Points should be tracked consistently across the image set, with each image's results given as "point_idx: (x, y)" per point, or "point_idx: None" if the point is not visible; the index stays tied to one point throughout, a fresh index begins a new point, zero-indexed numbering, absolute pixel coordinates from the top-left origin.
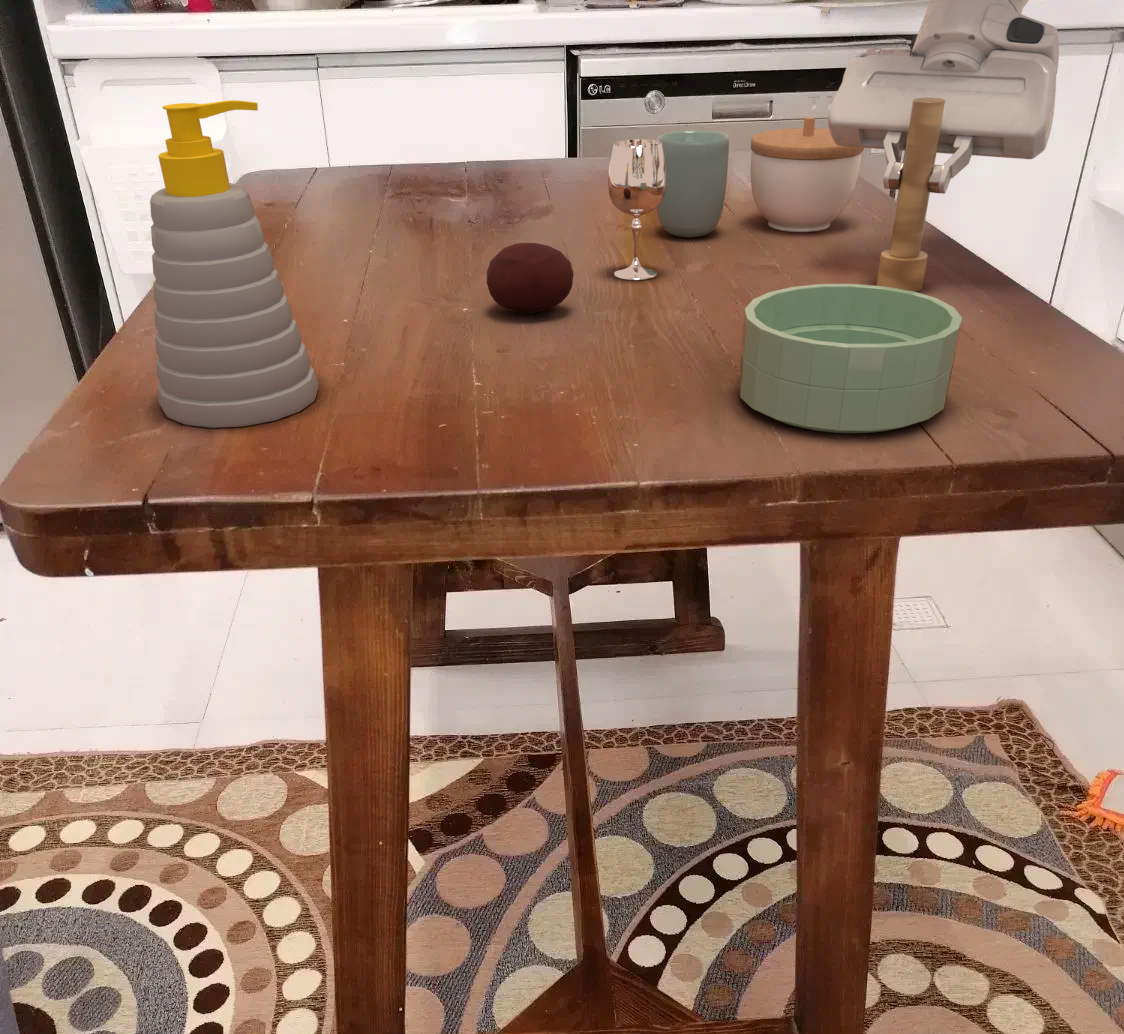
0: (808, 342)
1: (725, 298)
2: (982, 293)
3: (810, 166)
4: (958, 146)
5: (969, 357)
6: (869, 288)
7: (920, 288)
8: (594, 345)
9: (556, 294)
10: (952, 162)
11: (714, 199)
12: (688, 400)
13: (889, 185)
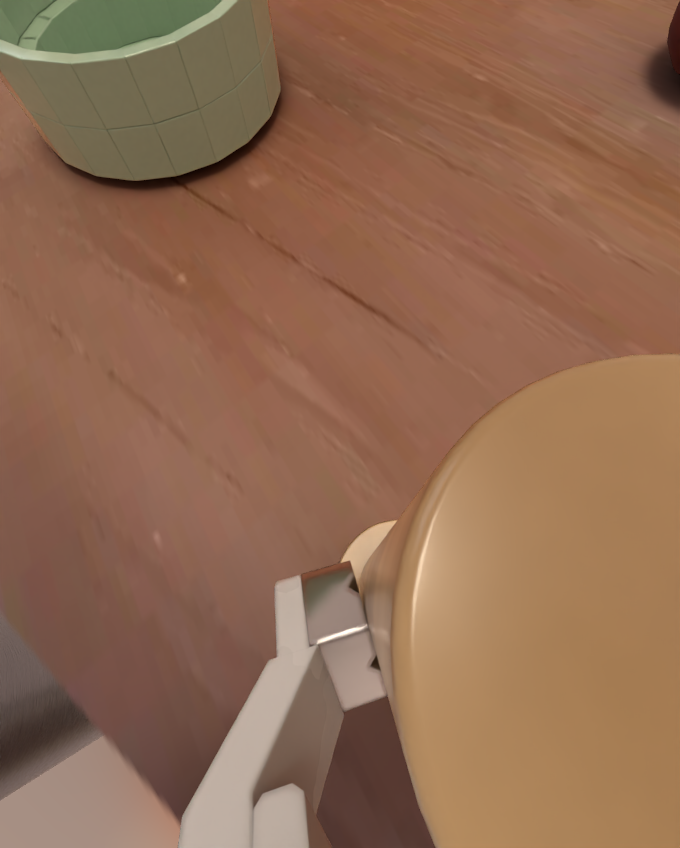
0: None
1: (581, 285)
2: (210, 683)
3: None
4: (262, 807)
5: (84, 302)
6: (143, 44)
7: None
8: (515, 56)
9: (670, 35)
10: (266, 673)
11: None
12: (298, 25)
13: None
